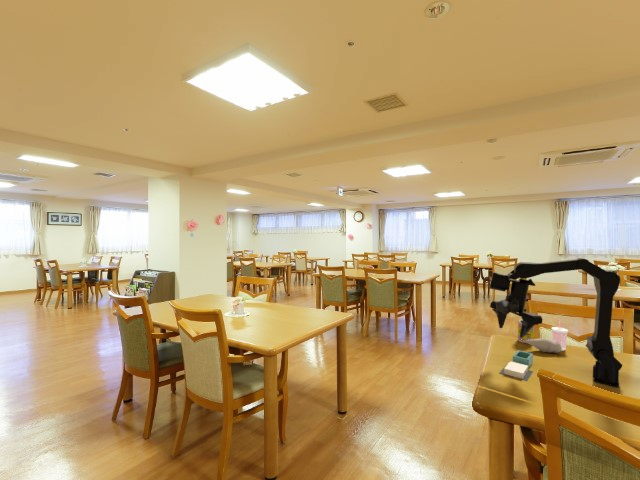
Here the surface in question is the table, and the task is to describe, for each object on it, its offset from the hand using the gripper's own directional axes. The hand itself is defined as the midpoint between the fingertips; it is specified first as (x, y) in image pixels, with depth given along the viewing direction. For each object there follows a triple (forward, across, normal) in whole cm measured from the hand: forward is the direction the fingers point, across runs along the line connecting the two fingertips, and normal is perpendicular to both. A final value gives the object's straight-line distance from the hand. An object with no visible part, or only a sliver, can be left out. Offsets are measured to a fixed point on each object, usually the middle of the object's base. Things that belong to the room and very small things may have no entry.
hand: (510, 332), depth 129 cm
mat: (+13, +8, -3) cm, 15 cm away
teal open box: (+12, +2, +7) cm, 14 cm away
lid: (+12, +7, -3) cm, 15 cm away
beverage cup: (+10, -5, +39) cm, 41 cm away
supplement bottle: (+12, -16, +33) cm, 39 cm away
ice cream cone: (+11, -5, +28) cm, 30 cm away
